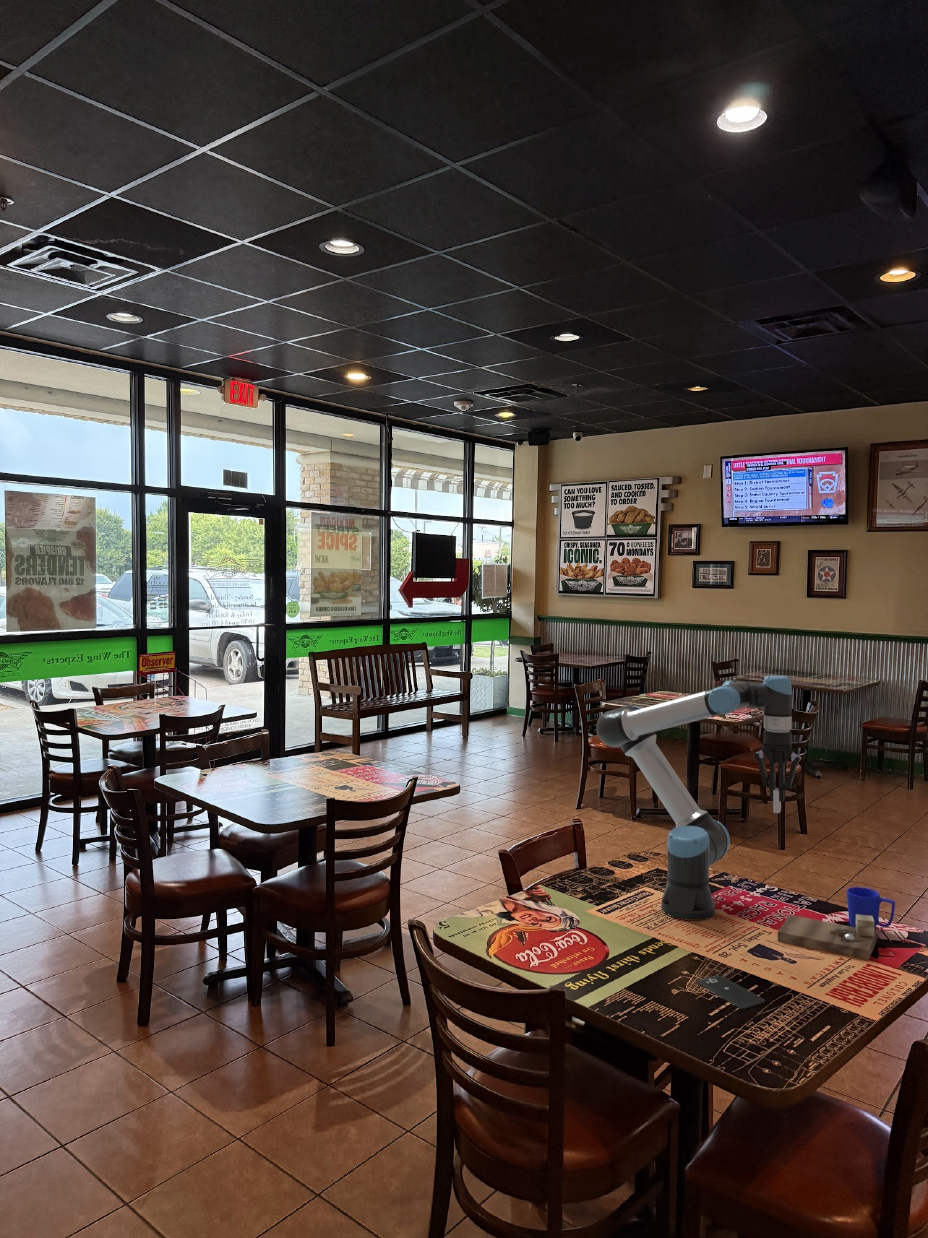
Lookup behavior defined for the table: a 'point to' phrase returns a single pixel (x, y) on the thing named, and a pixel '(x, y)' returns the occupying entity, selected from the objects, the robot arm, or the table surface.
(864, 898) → the mug
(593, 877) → the table surface
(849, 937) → the ball
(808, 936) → the deck
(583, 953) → the table surface
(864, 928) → the maple cube
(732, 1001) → the smartphone
